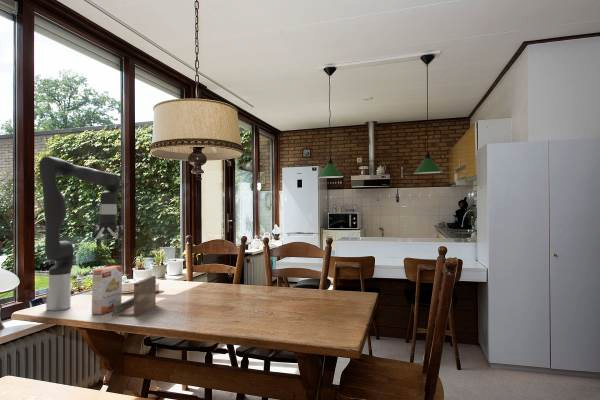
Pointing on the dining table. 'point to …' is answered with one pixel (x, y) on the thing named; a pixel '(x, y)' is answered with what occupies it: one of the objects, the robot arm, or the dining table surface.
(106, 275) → the cracker box
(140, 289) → the grey l-shaped bracket
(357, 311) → the dining table surface
